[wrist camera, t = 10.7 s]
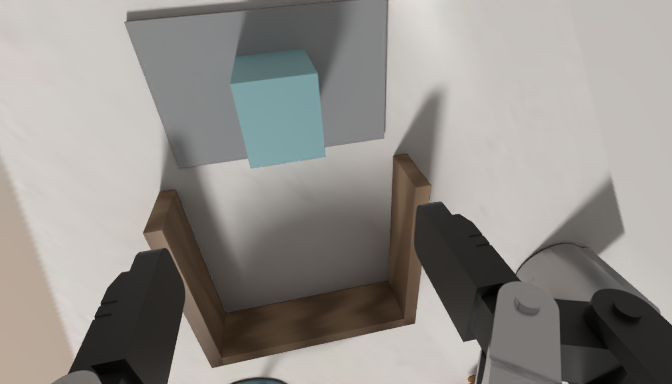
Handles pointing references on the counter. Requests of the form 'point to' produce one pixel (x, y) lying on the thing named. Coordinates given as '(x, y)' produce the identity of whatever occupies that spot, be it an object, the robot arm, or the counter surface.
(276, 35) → the rubber mat
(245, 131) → the teal block
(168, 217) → the open-front crate
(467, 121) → the counter surface
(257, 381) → the cocktail glass
